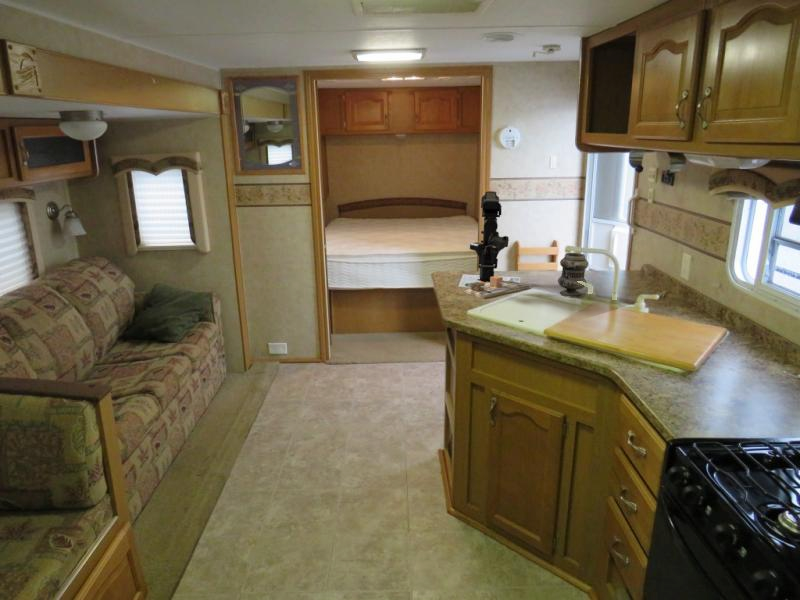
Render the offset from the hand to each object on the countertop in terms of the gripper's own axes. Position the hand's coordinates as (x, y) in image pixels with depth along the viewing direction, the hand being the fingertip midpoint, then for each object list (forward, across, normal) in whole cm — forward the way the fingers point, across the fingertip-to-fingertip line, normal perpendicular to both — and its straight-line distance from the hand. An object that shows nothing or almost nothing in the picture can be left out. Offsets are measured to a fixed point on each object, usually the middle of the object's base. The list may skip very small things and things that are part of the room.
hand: (488, 264), depth 244 cm
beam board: (+12, +4, -3) cm, 13 cm away
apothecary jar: (+12, +25, -27) cm, 39 cm away
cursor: (+11, +6, -3) cm, 13 cm away
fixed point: (+11, -6, -3) cm, 13 cm away
